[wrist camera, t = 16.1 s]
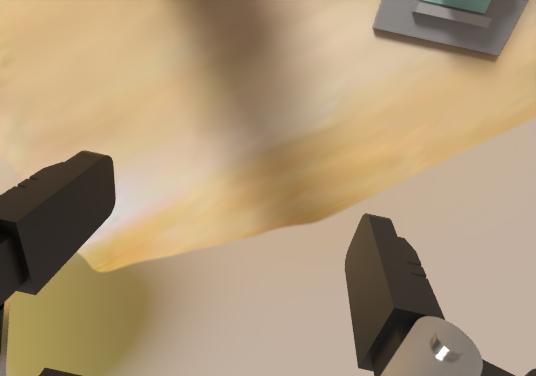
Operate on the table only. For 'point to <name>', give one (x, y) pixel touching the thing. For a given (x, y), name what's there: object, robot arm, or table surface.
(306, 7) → the table surface
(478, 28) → the docking tray
